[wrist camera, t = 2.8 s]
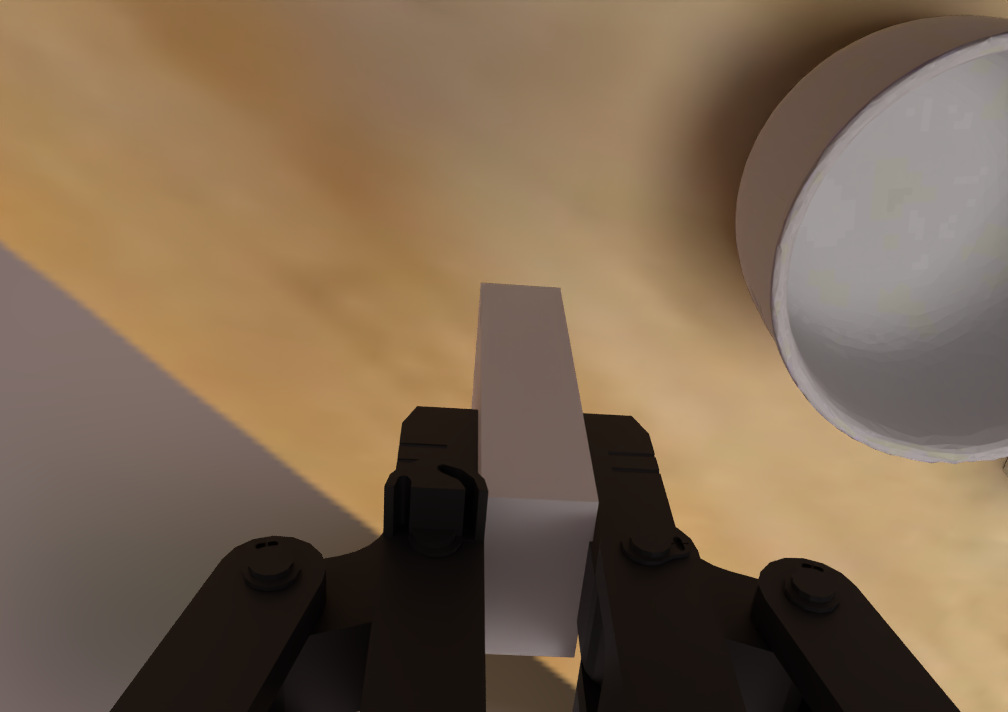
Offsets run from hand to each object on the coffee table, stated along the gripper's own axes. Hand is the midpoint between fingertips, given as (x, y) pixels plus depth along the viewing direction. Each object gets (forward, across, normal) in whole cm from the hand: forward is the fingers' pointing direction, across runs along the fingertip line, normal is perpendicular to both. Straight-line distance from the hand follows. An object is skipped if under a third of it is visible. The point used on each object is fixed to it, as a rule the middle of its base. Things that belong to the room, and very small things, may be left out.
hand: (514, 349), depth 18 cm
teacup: (+12, +13, 0) cm, 18 cm away
